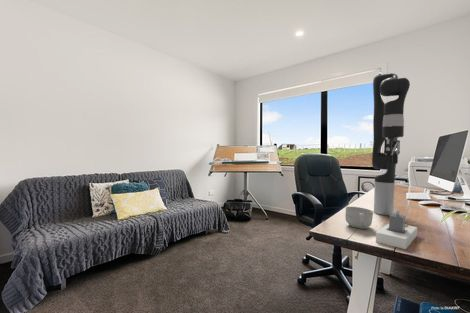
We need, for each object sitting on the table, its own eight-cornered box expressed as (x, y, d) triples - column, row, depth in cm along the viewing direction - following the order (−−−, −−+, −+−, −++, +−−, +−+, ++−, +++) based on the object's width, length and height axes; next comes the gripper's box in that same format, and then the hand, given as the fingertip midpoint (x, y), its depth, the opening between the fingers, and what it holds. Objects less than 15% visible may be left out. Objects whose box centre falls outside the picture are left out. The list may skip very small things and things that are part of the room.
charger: (391, 236, 92) (392, 208, 92) (404, 239, 89) (405, 210, 89) (388, 239, 89) (389, 210, 89) (402, 242, 86) (402, 212, 86)
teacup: (346, 221, 112) (346, 204, 111) (373, 225, 106) (373, 208, 106) (342, 229, 100) (343, 210, 99) (372, 234, 94) (373, 214, 94)
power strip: (390, 230, 100) (390, 220, 100) (417, 235, 94) (417, 225, 93) (375, 241, 86) (376, 230, 86) (405, 249, 80) (405, 237, 80)
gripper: (387, 128, 108) (386, 163, 108) (377, 125, 98) (376, 163, 98) (407, 127, 103) (406, 164, 103) (399, 123, 93) (398, 164, 93)
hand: (391, 164), depth 101 cm, fingers open, 8 cm apart
